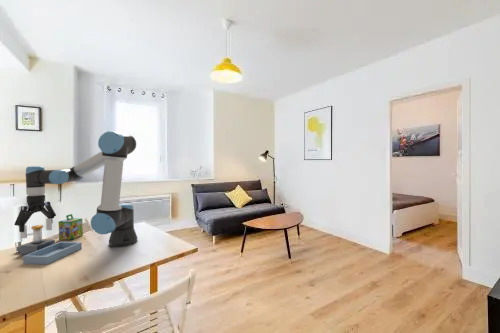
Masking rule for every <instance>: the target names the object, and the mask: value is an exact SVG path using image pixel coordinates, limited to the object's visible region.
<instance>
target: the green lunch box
mask: <svg viewBox="0 0 500 333" xmlns="http://www.w3.org/2000/svg"><path fill="white" fill-rule="evenodd" d="M69 217H70V218H69ZM83 226H84V225H83V218H77V217H75V218H74V216H73V214H72V213H70V214H67V215H66V216H65V219H63V220H60V221H58V239H59V241H63V240H64V241H65V240H69V241H70V240H74V239H77V237H78V238H80V237H82V235H83V236H84V232H83V230H84V228H83ZM79 236H80V237H79Z"/></svg>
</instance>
